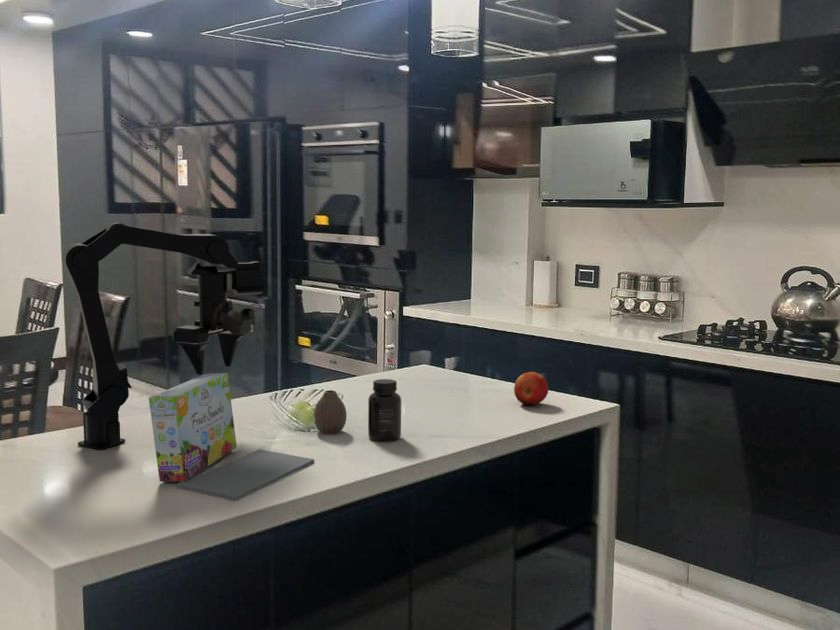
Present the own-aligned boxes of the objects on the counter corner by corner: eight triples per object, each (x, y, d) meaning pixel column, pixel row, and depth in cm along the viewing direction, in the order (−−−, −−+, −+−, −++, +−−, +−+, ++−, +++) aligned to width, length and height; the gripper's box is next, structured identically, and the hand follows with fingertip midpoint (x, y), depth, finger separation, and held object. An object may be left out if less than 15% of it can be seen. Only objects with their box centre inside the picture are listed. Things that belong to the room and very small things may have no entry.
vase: (332, 438, 173) (333, 396, 172) (306, 433, 177) (306, 392, 176) (352, 431, 179) (353, 390, 178) (327, 425, 183) (327, 386, 182)
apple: (551, 403, 207) (553, 372, 206) (537, 410, 200) (539, 377, 199) (522, 399, 211) (523, 367, 210) (507, 405, 204) (508, 373, 203)
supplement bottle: (406, 436, 176) (407, 379, 175) (391, 444, 170) (392, 386, 169) (377, 431, 179) (378, 376, 178) (361, 439, 173) (362, 382, 171)
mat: (176, 487, 142) (176, 484, 142) (259, 452, 163) (259, 449, 163) (236, 500, 137) (236, 497, 137) (314, 462, 158) (314, 459, 157)
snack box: (188, 482, 143) (175, 395, 141) (158, 483, 144) (145, 397, 143) (239, 446, 164) (228, 370, 162) (213, 448, 165) (201, 373, 163)
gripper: (215, 303, 161) (217, 383, 163) (271, 293, 178) (272, 366, 180) (169, 299, 166) (172, 377, 168) (228, 290, 183) (229, 361, 185)
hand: (214, 370), depth 175 cm, fingers open, 9 cm apart
